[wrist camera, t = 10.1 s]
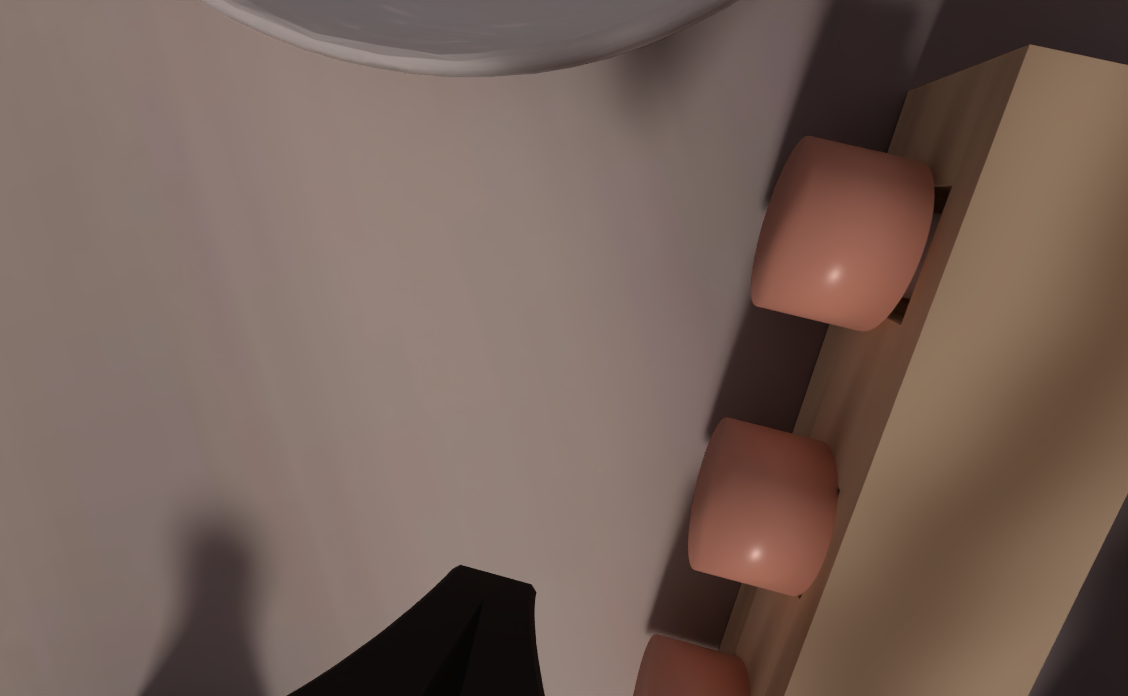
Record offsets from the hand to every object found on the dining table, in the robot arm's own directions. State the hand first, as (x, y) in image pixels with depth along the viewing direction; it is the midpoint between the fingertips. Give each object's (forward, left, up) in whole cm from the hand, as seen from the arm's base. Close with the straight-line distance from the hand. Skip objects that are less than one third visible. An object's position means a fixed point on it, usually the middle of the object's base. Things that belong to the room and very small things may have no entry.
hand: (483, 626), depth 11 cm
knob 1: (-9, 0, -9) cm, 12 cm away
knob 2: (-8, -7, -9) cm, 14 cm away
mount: (-9, 0, -10) cm, 14 cm away
